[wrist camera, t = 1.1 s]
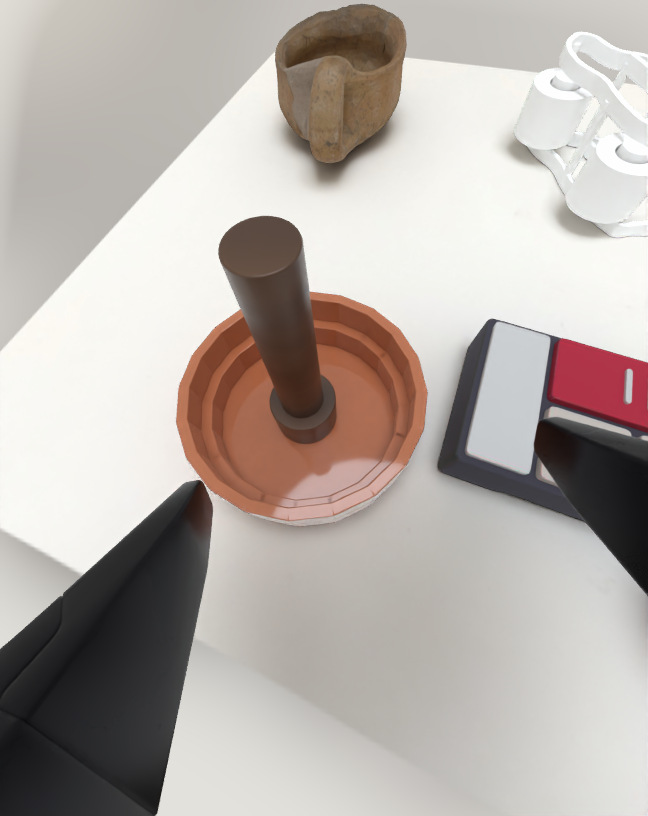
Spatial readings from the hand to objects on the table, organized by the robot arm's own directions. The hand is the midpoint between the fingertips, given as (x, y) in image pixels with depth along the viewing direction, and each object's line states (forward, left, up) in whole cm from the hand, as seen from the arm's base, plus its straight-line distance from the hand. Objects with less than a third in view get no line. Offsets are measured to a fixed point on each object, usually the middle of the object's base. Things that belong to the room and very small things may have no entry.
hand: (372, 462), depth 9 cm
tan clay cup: (+41, +9, -15) cm, 45 cm away
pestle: (+6, +5, -14) cm, 16 cm away
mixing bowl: (+6, +5, -15) cm, 17 cm away
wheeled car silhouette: (+37, -17, -15) cm, 44 cm away
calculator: (+8, -13, -15) cm, 22 cm away
